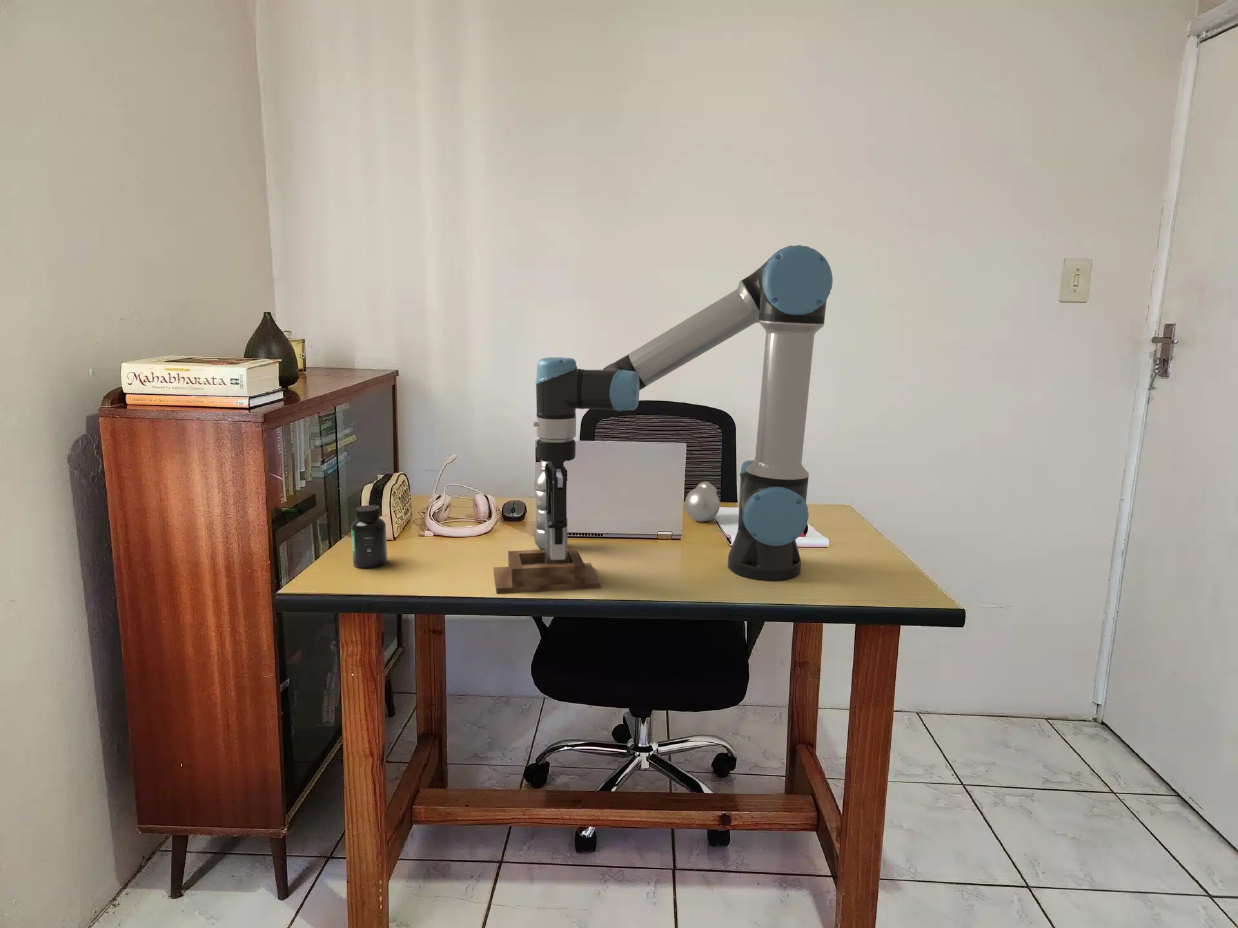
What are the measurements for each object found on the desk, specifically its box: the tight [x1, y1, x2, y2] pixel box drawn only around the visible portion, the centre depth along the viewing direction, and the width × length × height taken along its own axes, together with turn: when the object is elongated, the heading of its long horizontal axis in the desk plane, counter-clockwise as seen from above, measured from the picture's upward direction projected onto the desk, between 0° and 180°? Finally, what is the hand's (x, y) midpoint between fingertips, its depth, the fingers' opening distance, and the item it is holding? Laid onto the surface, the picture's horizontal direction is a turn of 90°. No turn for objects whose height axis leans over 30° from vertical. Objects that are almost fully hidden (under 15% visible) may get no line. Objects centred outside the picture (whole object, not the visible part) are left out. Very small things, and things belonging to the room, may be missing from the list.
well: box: [492, 547, 601, 594], centre depth 158 cm, size 20×12×4 cm, turn 101°
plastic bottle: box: [533, 460, 548, 550], centre depth 176 cm, size 6×7×20 cm
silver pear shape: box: [684, 480, 721, 523], centre depth 202 cm, size 9×10×10 cm
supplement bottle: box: [350, 504, 388, 570], centre depth 165 cm, size 7×7×12 cm
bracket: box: [525, 514, 568, 565], centre depth 157 cm, size 8×4×12 cm, turn 101°
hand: (555, 553), depth 158 cm, fingers open, 6 cm apart
